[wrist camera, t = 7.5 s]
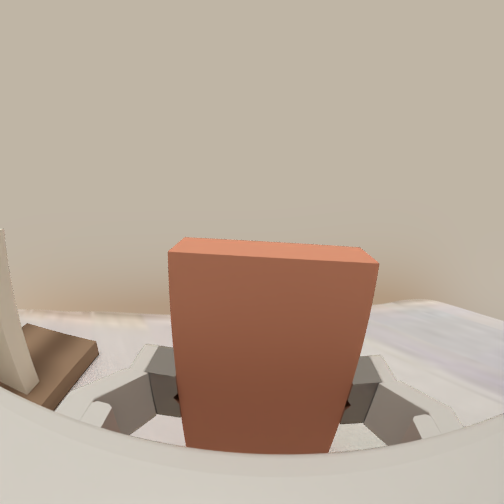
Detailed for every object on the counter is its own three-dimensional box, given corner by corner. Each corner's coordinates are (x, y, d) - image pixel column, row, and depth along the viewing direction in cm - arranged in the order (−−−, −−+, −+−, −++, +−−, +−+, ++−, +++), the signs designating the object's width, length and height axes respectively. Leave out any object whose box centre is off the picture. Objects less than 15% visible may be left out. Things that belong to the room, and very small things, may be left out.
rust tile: (198, 457, 11) (184, 237, 8) (309, 462, 11) (359, 247, 8) (193, 483, 9) (167, 251, 7) (312, 489, 9) (379, 263, 7)
